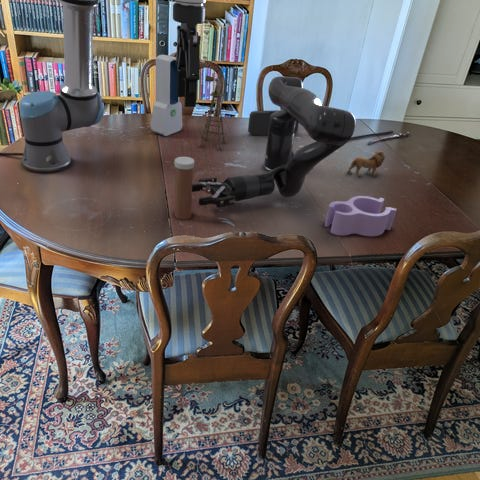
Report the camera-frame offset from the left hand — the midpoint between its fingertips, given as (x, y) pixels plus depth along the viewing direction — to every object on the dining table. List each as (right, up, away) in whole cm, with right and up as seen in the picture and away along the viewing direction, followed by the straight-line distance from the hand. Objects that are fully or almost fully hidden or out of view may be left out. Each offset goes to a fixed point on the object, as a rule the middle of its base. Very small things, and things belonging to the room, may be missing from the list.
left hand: (186, 101), depth 121 cm
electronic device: (-17, +10, +75) cm, 78 cm away
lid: (-2, -14, +9) cm, 17 cm away
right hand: (0, -23, +16) cm, 28 cm away
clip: (+50, -32, +22) cm, 63 cm away
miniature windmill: (+3, +2, +67) cm, 67 cm away
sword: (+82, +10, +93) cm, 124 cm away
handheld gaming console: (+28, +11, +85) cm, 90 cm away
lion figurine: (+61, -11, +56) cm, 84 cm away
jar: (-3, -29, +18) cm, 34 cm away
